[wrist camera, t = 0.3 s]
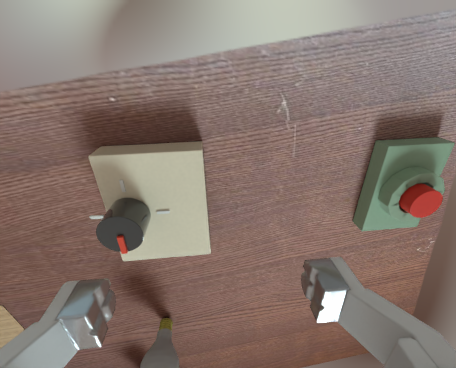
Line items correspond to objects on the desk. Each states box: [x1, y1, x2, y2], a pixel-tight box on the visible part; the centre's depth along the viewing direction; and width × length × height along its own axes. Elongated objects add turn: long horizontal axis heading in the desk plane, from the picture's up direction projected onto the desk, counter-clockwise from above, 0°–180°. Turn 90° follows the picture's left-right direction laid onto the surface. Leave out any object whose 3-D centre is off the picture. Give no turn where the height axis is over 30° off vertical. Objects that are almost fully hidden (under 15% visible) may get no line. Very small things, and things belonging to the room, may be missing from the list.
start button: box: [399, 184, 443, 218], centre depth 26 cm, size 4×4×2 cm
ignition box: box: [353, 137, 455, 231], centre depth 28 cm, size 12×8×4 cm, turn 1°
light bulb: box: [140, 318, 179, 368], centre depth 35 cm, size 6×6×10 cm
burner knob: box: [96, 198, 151, 254], centre depth 24 cm, size 4×4×4 cm
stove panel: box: [88, 141, 211, 261], centre depth 27 cm, size 14×13×3 cm
